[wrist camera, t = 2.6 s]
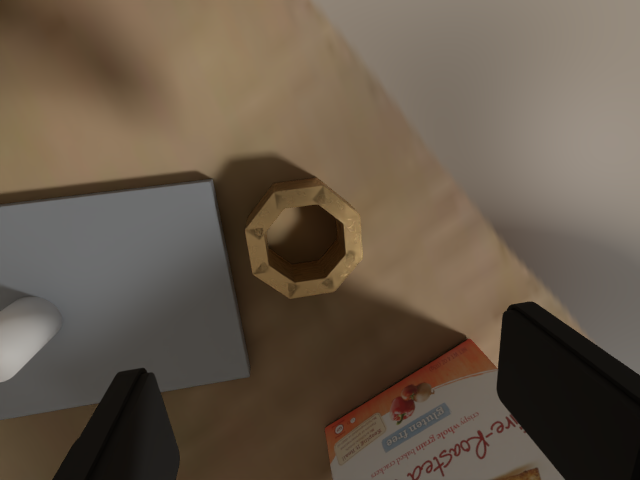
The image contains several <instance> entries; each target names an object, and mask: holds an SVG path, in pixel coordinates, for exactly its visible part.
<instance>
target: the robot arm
mask: <svg viewBox="0 0 640 480" xmlns="http://www.w3.org/2000/svg"><path fill="white" fill-rule="evenodd" d="M496 390H497V394H498V397H499V399H500V401H501V402H502V404H503V405H504V406H505V407H506V409H507V410H508V411H509V412H510V414H511V415H512V416H513V417H514V418H515V420H516V421H517V422H518V423H519V424H520V426H521V427H522V428H523V429H524V431H525V432H526V433H527V434H528V435H529V437H530V438H531V439H532V440H533V441H534V443H535V444H536V445H537V446H538V448H539V449H540V450H541V451H542V452H543V454H544V455H545V456H546V457H547V458H548V460H549V461H550V462H551V463H552V465H553V466H554V467H555V468H556V469H557V471H558V472H559V473H560V474H561V475H562V477H563V478H564V479H565V480H640V375H639V374H637V373H636V372H634V371H633V370H631V369H630V368H629V367H627V366H626V365H624V364H623V363H621V362H620V361H618V360H617V359H615V358H614V357H612V356H611V355H610V354H608V353H607V352H605V351H604V350H603V349H601V348H600V347H598V346H597V345H595V344H594V343H593V342H591V341H590V340H588V339H587V338H585V337H584V336H582V335H581V334H580V333H578V332H577V331H575V330H574V329H572V328H571V327H569V326H568V325H567V324H565V323H564V322H562V321H561V320H559V319H558V318H556V317H555V316H554V315H552V314H551V313H549V312H548V311H546V310H545V309H543V308H542V307H541V306H539V305H538V304H536V303H534V302H524V303H518V304H512V305H510V306H509V307H508V309H507V311H505V312H504V313H503V317H502V329H501V340H500V352H499V363H498V375H497V386H496ZM179 461H180V456H179V449H178V446H177V443H176V440H175V437H174V434H173V430H172V427H171V424H170V421H169V418H168V415H167V412H166V408H165V405H164V402H163V399H162V396H161V393H160V389H159V386H158V383H157V380H156V377H155V375H154V373H153V372H150V373H148V372H147V370H146V369H145V368H138V369H132V370H126V371H120V372H118V373H117V374H116V375H115V377H114V379H113V380H112V382H111V384H110V386H109V387H108V389H107V391H106V393H105V394H104V396H103V398H102V399H101V401H100V403H99V405H98V406H97V408H96V410H95V411H94V413H93V415H92V417H91V418H90V420H89V422H88V424H87V425H86V427H85V429H84V430H83V432H82V434H81V436H80V437H79V439H77V440H76V442H75V443H74V444H73V446H72V447H71V449H70V451H69V452H68V454H67V456H66V457H65V459H64V461H63V462H62V464H61V466H60V468H59V469H58V471H57V473H56V474H55V476H54V478H53V479H52V480H176V476H177V472H178V468H179Z"/></svg>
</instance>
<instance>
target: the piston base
mask: <svg viewBox="0 0 640 480" xmlns="http://www.w3.org/2000/svg"><path fill="white" fill-rule="evenodd" d="M138 368H145V369H146V370H147V372H148V373H150V372H153V373H154V375H155V377H156V380H157V383H158V386H159V389H160V392H165V391H171V390H177V389H183V388H188V387H194V386H200V385H206V384H212V383H217V382H223V381H229V380H235V379H240V378H246V377H250V363H249V358H248V353H247V348H246V343H245V338H244V333H243V328H242V323H241V318H240V313H239V308H238V303H237V298H236V293H235V288H234V283H233V278H232V273H231V268H230V263H229V258H228V253H227V248H226V243H225V238H224V233H223V228H222V223H221V218H220V213H219V208H218V203H217V198H216V193H215V188H214V183H213V179H207V180H199V181H191V182H182V183H174V184H166V185H157V186H149V187H141V188H133V189H124V190H116V191H108V192H99V193H91V194H83V195H74V196H66V197H58V198H50V199H41V200H33V201H25V202H16V203H8V204H0V420H4V419H10V418H15V417H21V416H27V415H33V414H38V413H44V412H50V411H56V410H62V409H67V408H73V407H79V406H85V405H90V404H96V403H100V401H101V399H102V398H103V396H104V394H105V393H106V391H107V389H108V387H109V386H110V384H111V382H112V380H113V379H114V377H115V375H116V374H117V373H118V372H120V371H126V370H132V369H138Z"/></svg>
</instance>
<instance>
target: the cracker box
mask: <svg viewBox="0 0 640 480" xmlns="http://www.w3.org/2000/svg"><path fill="white" fill-rule="evenodd" d="M497 375H498V369H497V368H496V366H495V365H494V364H493V363H492V362H491V361H490V360H489V359H488V357H487V356H486V355H485V354H484V353H483V352H482V351H481V350H480V349H479V347H478V346H477V345H476V344H475V343H474V342H473V341H472V340H471V339H467V340H466V341H464V342H463V343H461V344H460V345H458V346H456V347H455V348H453V349H452V350H450V351H448V352H447V353H445V354H444V355H442V356H440V357H439V358H437V359H436V360H434V361H432V362H431V363H429V364H428V365H426V366H424V367H423V368H421V369H419V370H418V371H416V372H415V373H413V374H411V375H410V376H408V377H406V378H405V379H403V380H402V381H400V382H398V383H397V384H395V385H394V386H392V387H390V388H388V389H387V390H385V391H384V392H382V393H381V394H379V395H377V396H376V397H374V398H372V399H371V400H369V401H368V402H366V403H364V404H363V405H361V406H360V407H358V408H356V409H355V410H353V411H351V412H350V413H348V414H346V415H345V416H343V417H342V418H340V419H338V420H337V421H335V422H333V423H332V424H330V425H328V426H327V427H326V428H325V434H326V440H327V446H328V454H329V460H330V466H331V472H332V478H333V480H565V479H564V478H563V477H562V475H561V474H560V473H559V472H558V471H557V469H556V468H555V467H554V466H553V465H552V463H551V462H550V461H549V460H548V458H547V457H546V456H545V455H544V454H543V452H542V451H541V450H540V449H539V448H538V446H537V445H536V444H535V443H534V441H533V440H532V439H531V438H530V437H529V435H528V434H527V433H526V432H525V431H524V429H523V428H522V427H521V426H520V424H519V423H518V422H517V421H516V420H515V418H514V417H513V416H512V415H511V414H510V412H509V411H508V410H507V409H506V407H505V406H504V405H503V404H502V402H501V401H500V399H499V397H498V394H497V390H496V386H497Z"/></svg>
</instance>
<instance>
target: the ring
mask: <svg viewBox="0 0 640 480" xmlns="http://www.w3.org/2000/svg"><path fill="white" fill-rule="evenodd" d="M316 204H319V205H320V206H321V207H322V208H324V209H325V210H326V211H328V212H329V213H330V214H331V215H333V216H334V217H335V221H336V232H337V239H336V241H335V242H334V243H333V244H332V245H331V247H330V248H329V249H328V250H327V252H326V253H325V254H324V255H323V256H322V258H321V259H320V260H316V261H309V262H303V263H296V264H291V263H289V262H288V261H287V260H285V259H284V258H282V257H281V256H279V255H278V254H276V253H275V252H273V251H272V250H271V249H269V246H268V240H267V233H266V231H267V230H268V229H269V228H270V226H271V225H272V224H273V222H274V221H275V220H276V219H277V217H278V216H279V215H280V214H281V212H282V211H283V210H284V209H285V208H293V207H300V206H308V205H316ZM245 234H246V240H247V245H248V251H249V256H250V262H251V268H252V273H253V275H254V276H256V277H257V278H259V279H260V280H262V281H263V282H265V283H266V284H268V285H270V286H271V287H273V288H274V289H276V290H277V291H279V292H280V293H282V294H283V295H285V296H286V297H288V298H289V299H292V298H298V297H305V296H311V295H318V294H324V293H331V292H335V290H336V289H337V288H338V287H339V286H340V285H341V283H342V282H343V281H344V280H345V279H346V278H347V276H348V275H349V274H350V273H351V272H352V271H353V269H354V268H355V267H356V266H357V265H358V264H359V262H360V261H361V260H362V259H363V253H362V238H361V223H360V214H359V213H358V212H357V211H356V210H355V209H354V208H353V207H352V206H351V205H350V204H349V203H348V202H347V201H345V200H344V199H343V198H342V197H340V196H339V195H338V194H337V193H336V192H334V191H333V190H332V189H331V188H329V187H328V186H327V185H326V184H324V183H323V182H322V181H321V180H319V179H318V178H309V179H301V180H293V181H285V182H277V183H273V185H272V186H271V187H270V188H269V190H268V191H267V192H266V194H265V195H264V196H263V198H262V199H261V200H260V202H259V203H258V204H257V205H256V207H255V208H254V209H253V211H252V212H251V213H250V215H249V216H248V218H247V223H246V227H245Z"/></svg>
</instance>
